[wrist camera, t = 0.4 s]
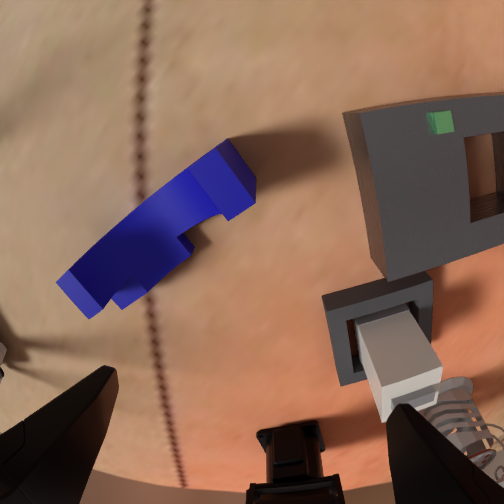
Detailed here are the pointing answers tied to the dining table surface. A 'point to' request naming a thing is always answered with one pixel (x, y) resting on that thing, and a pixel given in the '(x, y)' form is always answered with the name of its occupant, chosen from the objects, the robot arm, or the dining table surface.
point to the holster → (369, 301)
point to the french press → (462, 422)
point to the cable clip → (159, 232)
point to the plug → (397, 360)
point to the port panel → (426, 180)
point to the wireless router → (0, 353)
